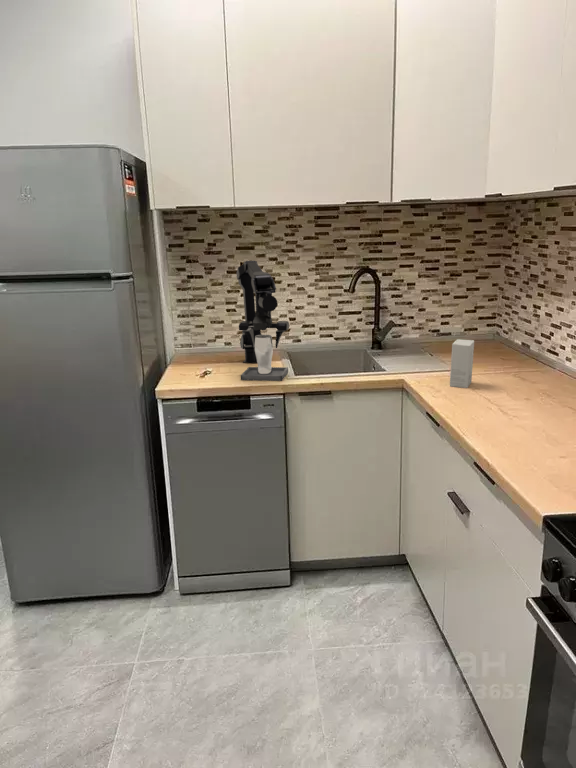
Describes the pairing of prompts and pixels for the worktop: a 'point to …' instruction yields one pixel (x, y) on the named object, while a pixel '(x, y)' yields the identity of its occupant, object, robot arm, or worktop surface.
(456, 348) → the skincare box
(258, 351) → the beer glass
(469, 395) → the worktop surface
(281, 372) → the drip tray
